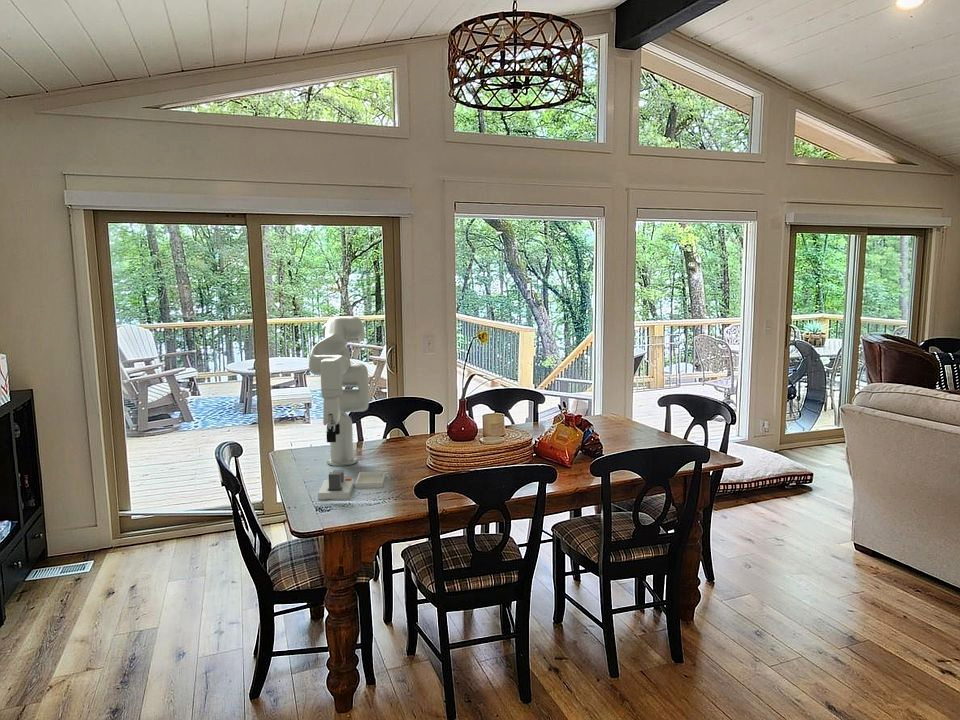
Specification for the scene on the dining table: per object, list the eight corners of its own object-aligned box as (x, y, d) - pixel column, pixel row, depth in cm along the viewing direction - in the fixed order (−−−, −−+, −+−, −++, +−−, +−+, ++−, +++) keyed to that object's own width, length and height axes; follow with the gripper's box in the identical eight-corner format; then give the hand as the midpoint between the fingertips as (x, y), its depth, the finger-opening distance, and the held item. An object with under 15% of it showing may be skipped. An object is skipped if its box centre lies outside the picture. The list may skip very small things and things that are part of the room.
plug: (330, 495, 244) (329, 471, 243) (341, 495, 244) (340, 471, 243) (329, 498, 241) (328, 474, 240) (340, 498, 241) (339, 474, 240)
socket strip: (325, 486, 253) (324, 469, 252) (354, 486, 254) (353, 468, 253) (318, 501, 238) (317, 482, 237) (349, 500, 239) (348, 481, 238)
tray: (359, 478, 264) (359, 472, 263) (385, 477, 264) (385, 471, 264) (355, 489, 251) (355, 483, 250) (382, 489, 251) (382, 482, 251)
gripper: (325, 387, 248) (326, 431, 251) (317, 398, 231) (319, 445, 234) (345, 387, 249) (346, 431, 252) (339, 398, 232) (340, 445, 235)
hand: (333, 438), depth 243 cm, fingers open, 9 cm apart
